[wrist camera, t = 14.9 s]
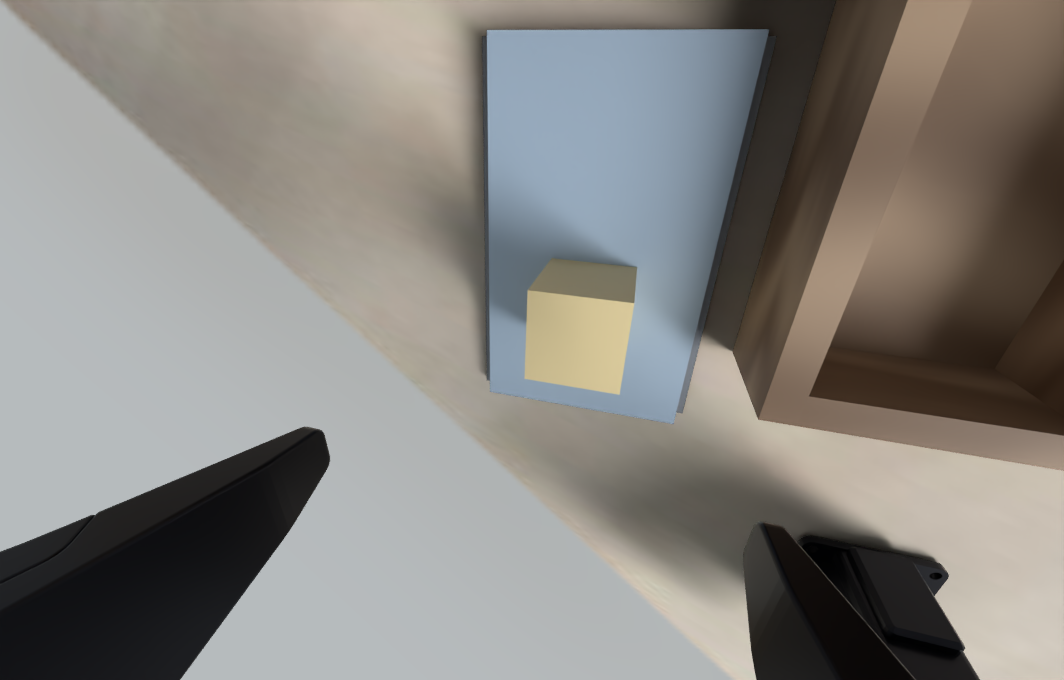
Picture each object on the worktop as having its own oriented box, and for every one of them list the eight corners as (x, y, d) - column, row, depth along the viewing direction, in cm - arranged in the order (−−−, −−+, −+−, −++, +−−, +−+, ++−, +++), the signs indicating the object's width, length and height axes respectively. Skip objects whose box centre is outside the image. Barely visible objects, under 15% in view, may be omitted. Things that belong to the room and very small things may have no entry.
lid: (672, 411, 20) (678, 487, 16) (496, 381, 22) (459, 442, 18) (761, 35, 14) (815, -9, 9) (495, 35, 15) (436, -2, 11)
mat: (681, 409, 21) (682, 413, 20) (488, 377, 23) (486, 380, 22) (774, 37, 14) (776, 36, 13) (485, 37, 16) (482, 36, 15)
